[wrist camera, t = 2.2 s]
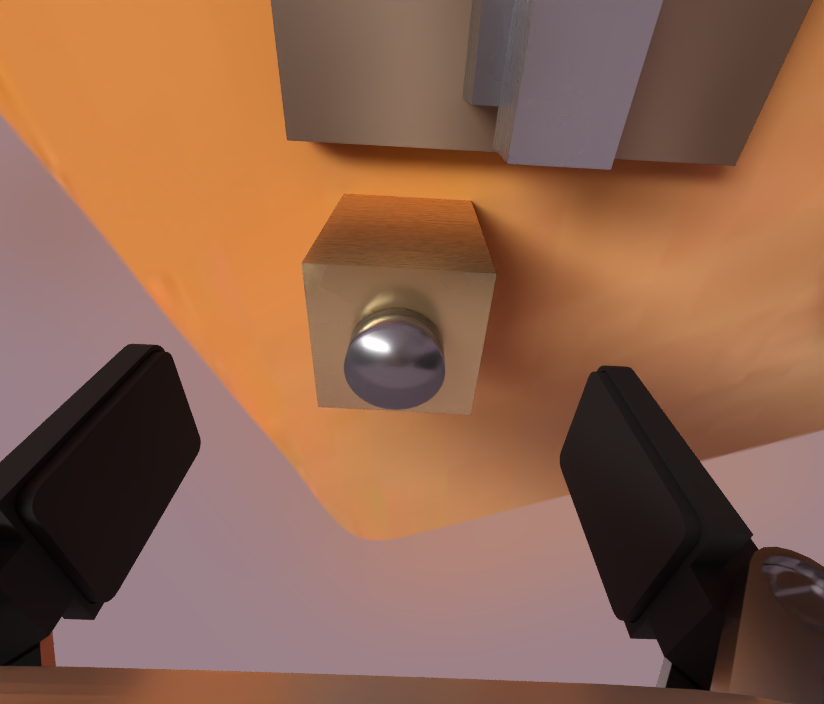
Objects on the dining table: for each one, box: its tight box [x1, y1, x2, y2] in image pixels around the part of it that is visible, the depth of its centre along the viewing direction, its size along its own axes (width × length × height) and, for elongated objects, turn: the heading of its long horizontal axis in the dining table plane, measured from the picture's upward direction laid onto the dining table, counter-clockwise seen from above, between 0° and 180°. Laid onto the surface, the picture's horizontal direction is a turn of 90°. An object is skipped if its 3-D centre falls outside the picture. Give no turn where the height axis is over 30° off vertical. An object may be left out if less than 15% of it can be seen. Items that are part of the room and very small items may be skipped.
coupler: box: [302, 194, 497, 415], centre depth 12 cm, size 4×4×7 cm
